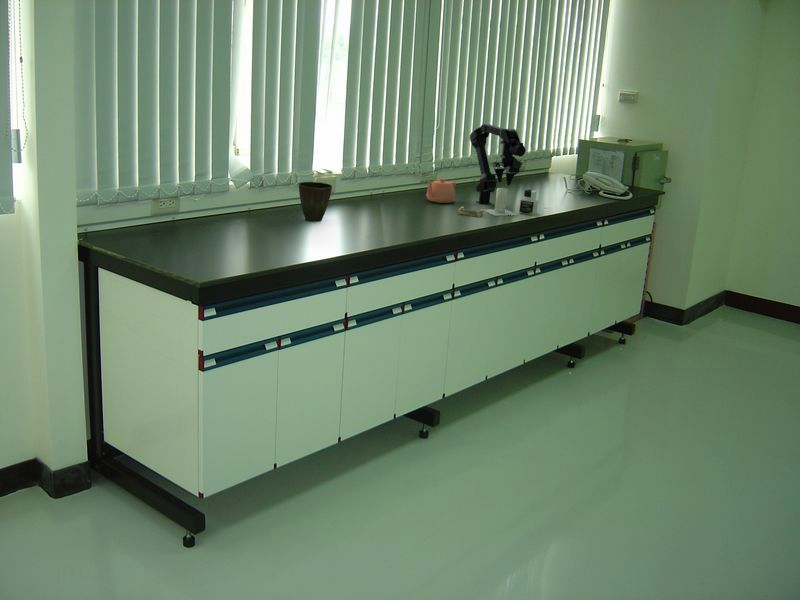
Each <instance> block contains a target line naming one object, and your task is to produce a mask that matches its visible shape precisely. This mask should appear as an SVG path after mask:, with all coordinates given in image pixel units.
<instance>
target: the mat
mask: <svg viewBox="0 0 800 600" xmlns="http://www.w3.org/2000/svg"><path fill="white" fill-rule="evenodd" d="M482 209H483V208H482ZM484 211H485V213H486V212H487V214H489V215H491V214H492V215H491V216H493V215H494V217H514V216H515V217H516V216H517V217H519V214H517V213H515V212H512V211H510V210H508V209H505V213H496V212H494V211H495V208H493V209H490V208H489V209H488V208H487V209H486V208H485V209H483V212H484ZM508 215H509V216H508ZM510 215H511V216H510ZM513 215H514V216H513Z"/></svg>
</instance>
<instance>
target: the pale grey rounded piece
mask: <svg viewBox="0 0 800 600" xmlns="http://www.w3.org/2000/svg"><path fill="white" fill-rule="evenodd" d="M508 192H509V191H508V188H506V187H497V188H496V192H495V193H496V194H495V204H494V209H495V211H494V212H496V213H505V209H506V208H507V200H508V198H507V197H508ZM506 210H507V209H506Z"/></svg>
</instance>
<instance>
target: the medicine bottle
mask: <svg viewBox="0 0 800 600" xmlns="http://www.w3.org/2000/svg"><path fill="white" fill-rule="evenodd" d="M538 204H539V200H538V199H537V191H536V190H534V189H525V190H524V193H523V198H521V199H520V203H519V211H518V212H519V214H522V213H523V214H524V215H528V214H530V215H529V216H534V215H536V214H538V213H537V212H538V206H539V205H538Z"/></svg>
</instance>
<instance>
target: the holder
mask: <svg viewBox="0 0 800 600" xmlns="http://www.w3.org/2000/svg"><path fill="white" fill-rule="evenodd" d="M483 212H484V211H483V208H480V209H479V210H474V209H473V210H471V209H465V206H461V207H459V208H458V209H457V215H461V214H463V216H471V217H477V216H478V217H481V216H482V215H483V214H484V213H483Z"/></svg>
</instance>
